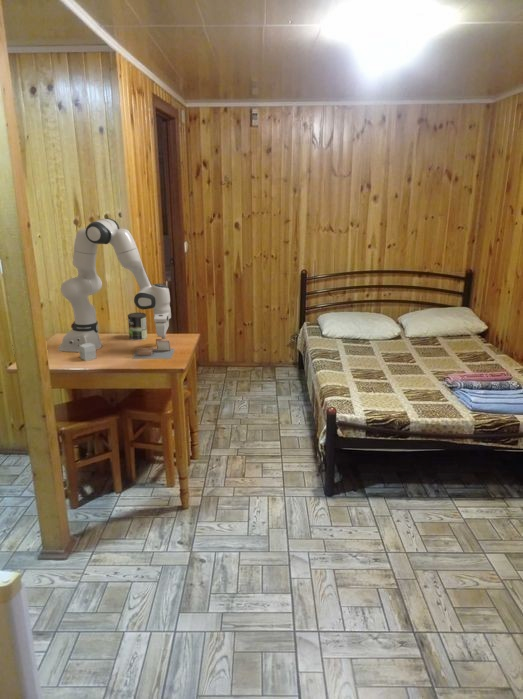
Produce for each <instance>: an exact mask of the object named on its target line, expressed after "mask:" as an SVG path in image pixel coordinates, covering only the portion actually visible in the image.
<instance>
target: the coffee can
mask: <svg viewBox="0 0 523 699" xmlns="http://www.w3.org/2000/svg"><path fill="white" fill-rule="evenodd" d="M127 320H128V322H127V323H128V335H129V340H132V341H144V340H147V339H148V328H147V314H146V313H145V312H131V313H128V314H127ZM146 338H147V339H146Z"/></svg>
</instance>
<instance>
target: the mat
mask: <svg viewBox="0 0 523 699" xmlns="http://www.w3.org/2000/svg"><path fill="white" fill-rule="evenodd" d="M139 349H140V348H137V349H136V351H135V353H134V354H133V357H132V358H131V359H132V360H140V359H141V360H157V359H158V360H161V359H162V360H171V359H173V355H174V352H175V351H176V350H175V349H176V348H171V351H157V348H153V353H152V355H138V351H139Z"/></svg>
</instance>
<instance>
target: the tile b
mask: <svg viewBox="0 0 523 699" xmlns="http://www.w3.org/2000/svg"><path fill="white" fill-rule="evenodd" d="M155 345H156V349H157V351H171V349H172V348H171V347H172V346H171V340H170V338H166V339H162V338H156V339H155Z"/></svg>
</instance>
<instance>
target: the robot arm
mask: <svg viewBox="0 0 523 699" xmlns="http://www.w3.org/2000/svg"><path fill="white" fill-rule="evenodd" d="M109 244H110V245H111V246H112V247H113V249H114V253H115V255H116V257H117V260H118V262H119V264H120V265H121V267H123V268H124V269H127V270H128V271H130V272H131V273H132V274H133V275H134V278H135V280H136V282H137V285H138V287H139V288H138V289H139V291H138V292H137V293H136V294H135V295H134V298H133V302H134V305H135V306H136V307H137V308H138V309H139V310H150V309H153V322H154V323H155V325H154V326H155V331H156V332H155V333H156V336H157V337H158V338H160V339H167V337H166V336H167V331H168V328H169V327H170V319H171V318H172V312H171V311H172V310H171V306H170V305H171V304H170V303H171V295H170V294H171V293H170V289H169V287H168V285H165V284H164V283H154V284H153V285H152V283H151V281H150V278H149V276H148V274H147V271H146V269H145V266H144V264H143V262H142V259H141V254H140V252H139V248H138V246H137V243H136V241H135V239H134V237H133V235H132V234H131V232H130V231H129V230H128V229H126V228H120V225H119V223H118V222H117V221H116V220H114V219H113V218H109V217H107V218H101V219H100V218H99V219H98V220H95V221H92V222H90V223H89V224H88V225H87V226H86V228H80V229H79V230H78V231H77V232H76V236H75V239H74V244H73V245H74V246H73V256H72V264H73V266H74V267H75V268H76V269H77V276H75V277H71V278H68V279H67V280H65V281H64V282H62V283H61V286H60V293H61V294H62V296H63V298H65V299H67V301H68V302H69V303H70V306H71V307H72V310H73V317H74V321H73V322H72V323H71V326H70V328H71V329H70V330H69V331H68V332H67V333H66V334H65V335H64V336H63V337H62V341H61V344H60V345H59V346H58V348H57V350H58V352H69V353H70V352H71V353H80V350H79V345H81V344H85V343H91V344H93V345H95V350H98V349H101V348H102V347H103V343H102V341H101V338H100V334H99V323H98V320H97V311H96V307H95V306H94V304H91V302H90V300H89V296H91V295H92V296H93V295H95V294H96V293H98V292H99V291H100V290H101V289H102V287H103V282H102V281H103V280H102V279H101V277H100V276H99V275H98V272H97V267H96V266H97V264H96V263H97V254H98V245H109Z"/></svg>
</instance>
